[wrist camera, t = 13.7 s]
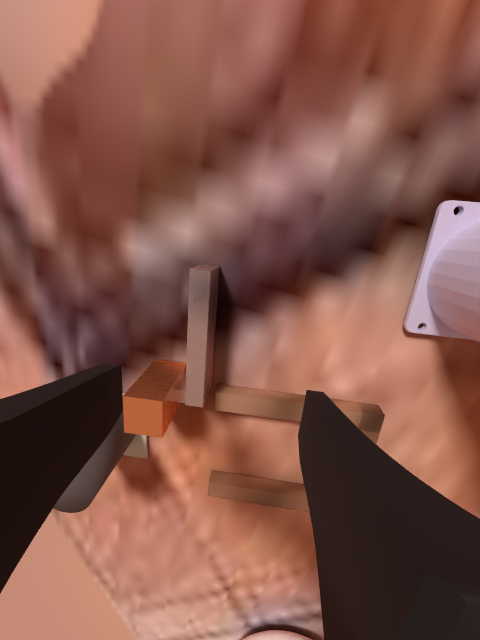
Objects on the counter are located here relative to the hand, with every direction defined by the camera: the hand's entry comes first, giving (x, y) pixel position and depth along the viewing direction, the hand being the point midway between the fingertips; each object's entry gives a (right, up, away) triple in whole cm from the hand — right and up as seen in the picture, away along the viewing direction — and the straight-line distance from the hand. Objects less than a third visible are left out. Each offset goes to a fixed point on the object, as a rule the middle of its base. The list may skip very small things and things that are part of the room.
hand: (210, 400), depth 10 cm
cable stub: (-9, -6, +12) cm, 17 cm away
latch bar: (-3, +2, +9) cm, 10 cm away
